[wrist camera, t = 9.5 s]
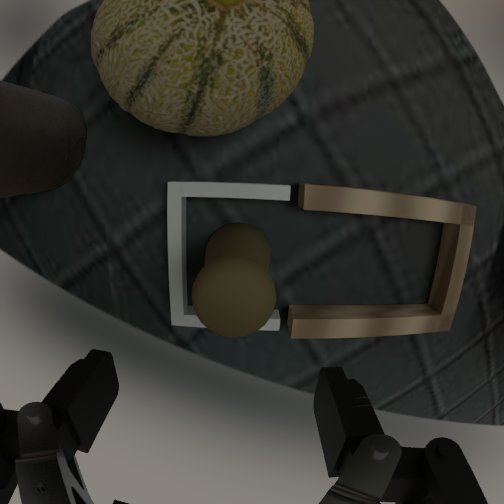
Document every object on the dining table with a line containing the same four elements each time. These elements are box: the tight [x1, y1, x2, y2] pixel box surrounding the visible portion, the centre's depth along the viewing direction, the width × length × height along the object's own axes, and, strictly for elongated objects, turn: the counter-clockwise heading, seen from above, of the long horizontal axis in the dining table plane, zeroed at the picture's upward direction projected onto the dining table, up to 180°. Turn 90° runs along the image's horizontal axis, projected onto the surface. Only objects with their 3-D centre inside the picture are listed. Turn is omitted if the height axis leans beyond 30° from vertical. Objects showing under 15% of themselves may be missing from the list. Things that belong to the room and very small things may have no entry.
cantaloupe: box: [91, 0, 314, 136], centre depth 16 cm, size 15×15×15 cm
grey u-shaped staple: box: [167, 181, 291, 331], centre depth 27 cm, size 10×13×2 cm
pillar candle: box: [0, 81, 86, 198], centre depth 17 cm, size 10×10×15 cm
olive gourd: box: [191, 222, 276, 338], centre depth 22 cm, size 6×6×11 cm
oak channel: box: [287, 183, 476, 339], centre depth 26 cm, size 18×14×3 cm
